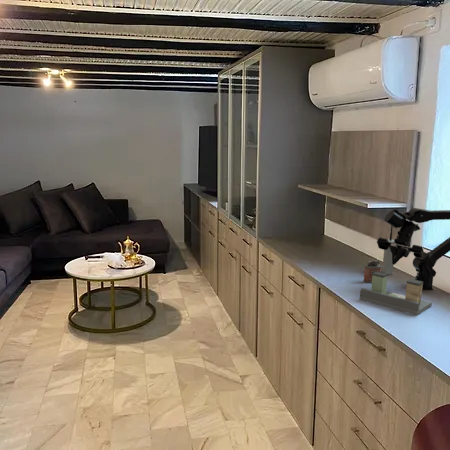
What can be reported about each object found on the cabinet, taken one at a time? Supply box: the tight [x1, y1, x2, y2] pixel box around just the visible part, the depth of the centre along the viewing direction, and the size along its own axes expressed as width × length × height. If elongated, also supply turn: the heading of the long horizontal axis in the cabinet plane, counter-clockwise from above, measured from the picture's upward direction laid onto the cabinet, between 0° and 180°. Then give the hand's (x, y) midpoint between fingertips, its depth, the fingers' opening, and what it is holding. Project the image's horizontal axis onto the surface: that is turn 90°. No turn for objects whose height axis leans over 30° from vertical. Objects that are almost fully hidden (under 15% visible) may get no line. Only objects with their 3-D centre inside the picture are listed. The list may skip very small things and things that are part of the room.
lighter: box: [362, 259, 382, 284], centre depth 212 cm, size 8×3×10 cm, turn 105°
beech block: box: [404, 278, 423, 303], centre depth 179 cm, size 4×5×9 cm
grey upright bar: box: [380, 225, 395, 276], centre depth 226 cm, size 4×5×25 cm
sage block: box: [370, 271, 389, 294], centre depth 188 cm, size 4×5×9 cm
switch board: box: [358, 288, 433, 316], centre depth 185 cm, size 15×23×4 cm, turn 47°
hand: (393, 264), depth 196 cm, fingers closed
